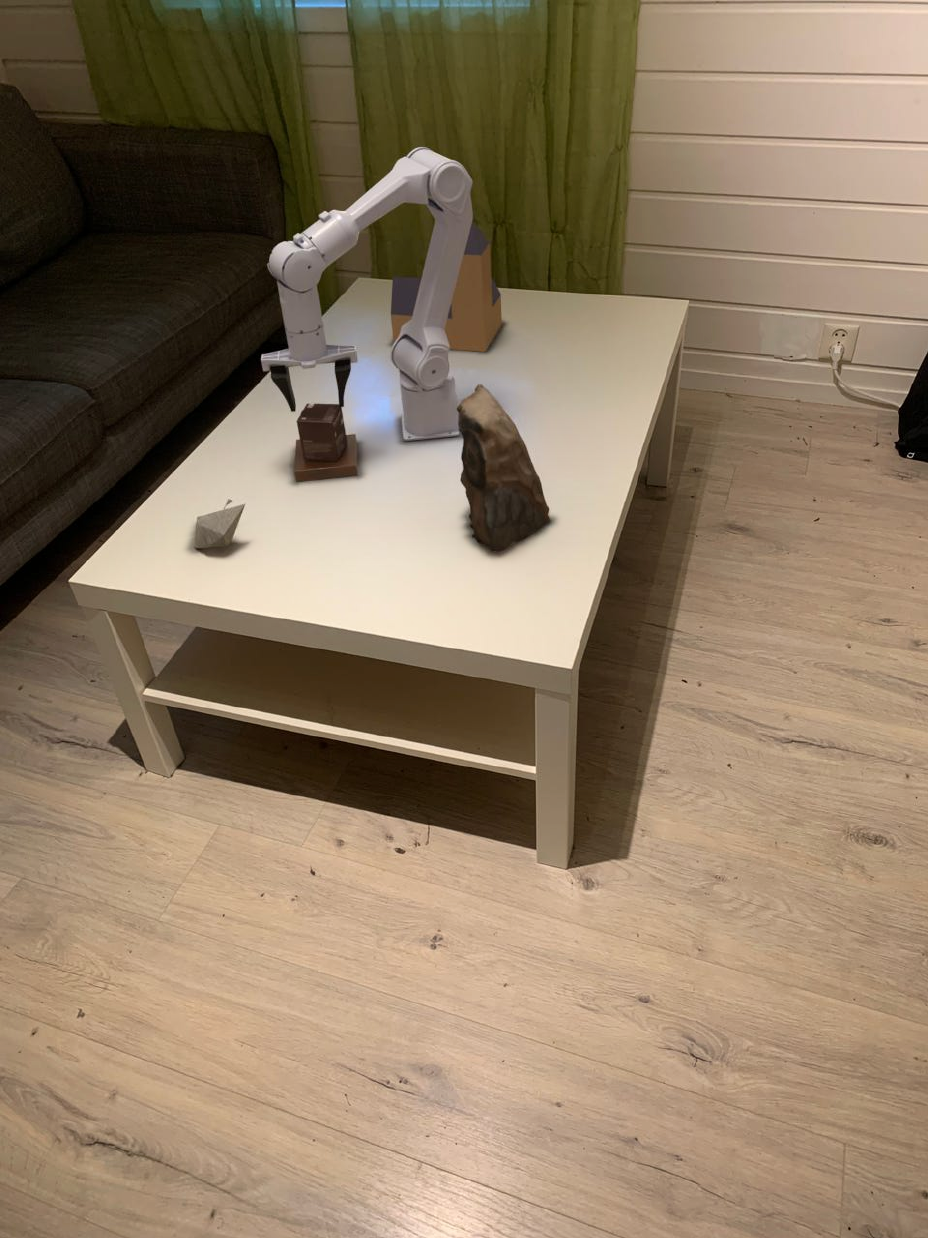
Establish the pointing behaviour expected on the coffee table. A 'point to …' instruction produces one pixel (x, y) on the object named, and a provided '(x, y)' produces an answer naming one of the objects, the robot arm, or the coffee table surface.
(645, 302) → the coffee table surface
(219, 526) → the paper boat
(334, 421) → the box
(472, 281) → the toy building blocks
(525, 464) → the brown rock
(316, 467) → the copper block
